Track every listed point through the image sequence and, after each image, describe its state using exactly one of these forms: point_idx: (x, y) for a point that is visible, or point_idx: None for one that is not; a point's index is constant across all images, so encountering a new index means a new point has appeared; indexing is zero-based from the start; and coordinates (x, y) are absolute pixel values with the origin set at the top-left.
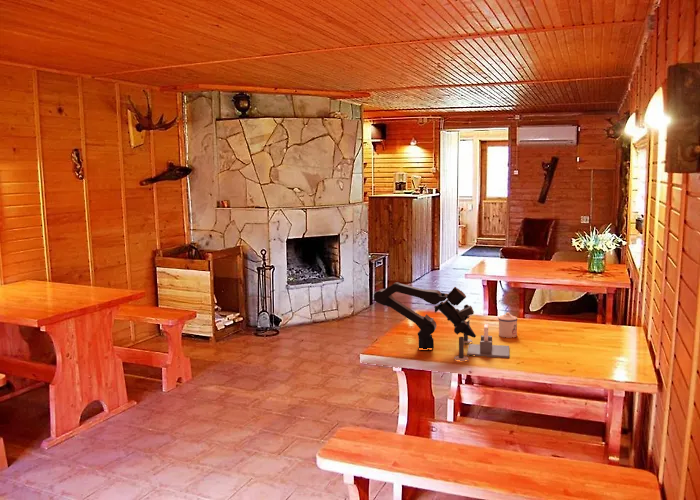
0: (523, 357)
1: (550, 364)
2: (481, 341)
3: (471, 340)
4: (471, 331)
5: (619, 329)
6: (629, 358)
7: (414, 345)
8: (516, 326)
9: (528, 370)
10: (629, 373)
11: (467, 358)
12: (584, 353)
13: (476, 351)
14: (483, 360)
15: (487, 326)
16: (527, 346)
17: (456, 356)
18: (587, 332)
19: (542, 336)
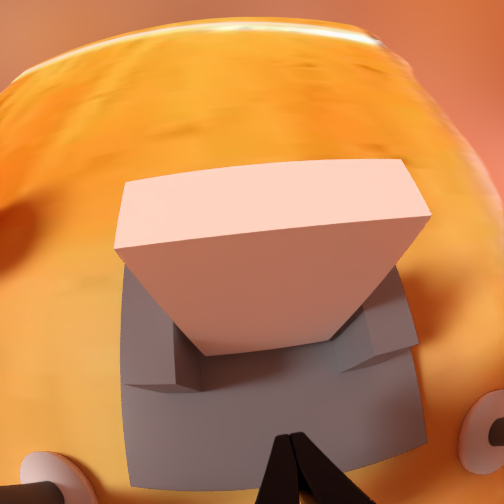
0: (306, 143)
1: (348, 89)
2: (399, 332)
3: (39, 455)
4: (367, 499)
5: (26, 76)
6: (221, 25)
7: None
8: None
9: (448, 140)
10: (324, 29)
11: (499, 393)
12: (195, 52)
13: (347, 402)
14: (456, 313)
15: (335, 164)
16: (112, 153)
17: (484, 469)
18: (21, 96)
19: (10, 150)
